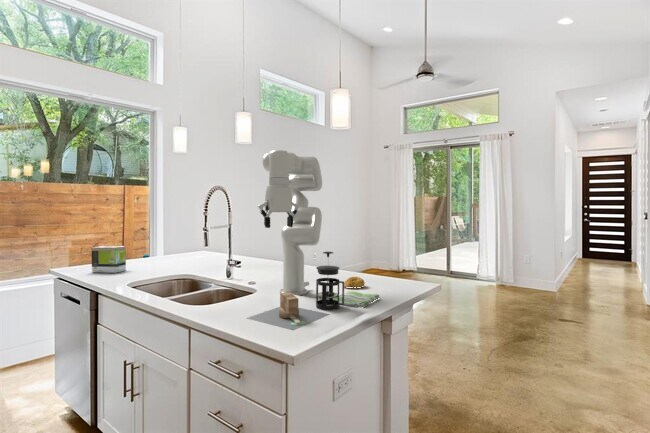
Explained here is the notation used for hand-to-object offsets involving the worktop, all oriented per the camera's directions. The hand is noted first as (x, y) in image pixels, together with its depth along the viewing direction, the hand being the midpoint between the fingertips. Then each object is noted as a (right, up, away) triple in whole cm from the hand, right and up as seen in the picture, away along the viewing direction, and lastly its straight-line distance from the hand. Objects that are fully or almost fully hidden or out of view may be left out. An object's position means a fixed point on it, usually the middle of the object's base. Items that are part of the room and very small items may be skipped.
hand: (278, 227), depth 146 cm
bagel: (+32, -31, +41) cm, 61 cm away
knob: (+6, -31, -14) cm, 35 cm away
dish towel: (+29, -33, +13) cm, 46 cm away
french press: (+19, -33, 0) cm, 38 cm away
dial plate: (+5, -33, -12) cm, 35 cm away
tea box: (-109, -28, +76) cm, 136 cm away
